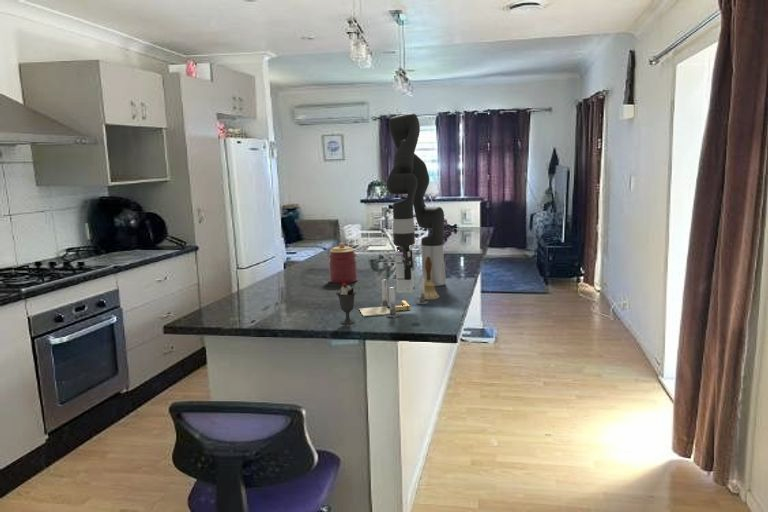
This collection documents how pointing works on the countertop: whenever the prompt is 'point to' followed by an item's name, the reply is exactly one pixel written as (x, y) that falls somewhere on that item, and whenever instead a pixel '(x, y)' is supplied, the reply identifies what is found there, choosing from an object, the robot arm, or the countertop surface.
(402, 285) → the syrup box
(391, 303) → the grey rods with bases
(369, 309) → the pad
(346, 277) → the canister
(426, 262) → the whisk broom
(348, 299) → the sundae
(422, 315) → the countertop surface
